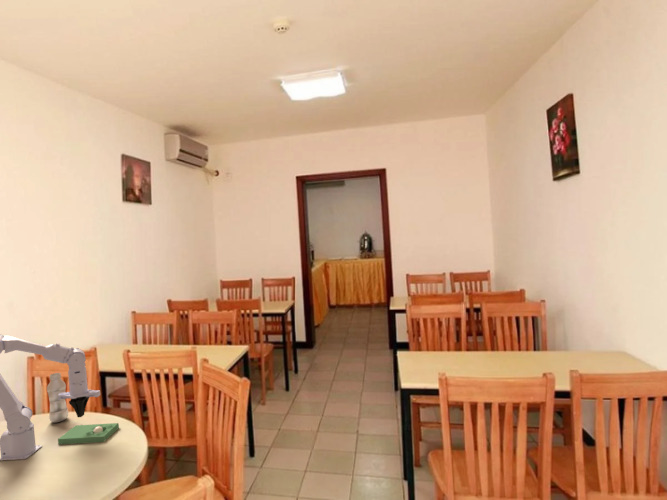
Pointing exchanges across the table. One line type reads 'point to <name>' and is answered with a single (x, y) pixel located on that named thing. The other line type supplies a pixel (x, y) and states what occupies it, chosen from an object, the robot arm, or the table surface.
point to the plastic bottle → (57, 406)
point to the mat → (88, 434)
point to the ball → (98, 430)
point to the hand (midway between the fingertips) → (80, 416)
